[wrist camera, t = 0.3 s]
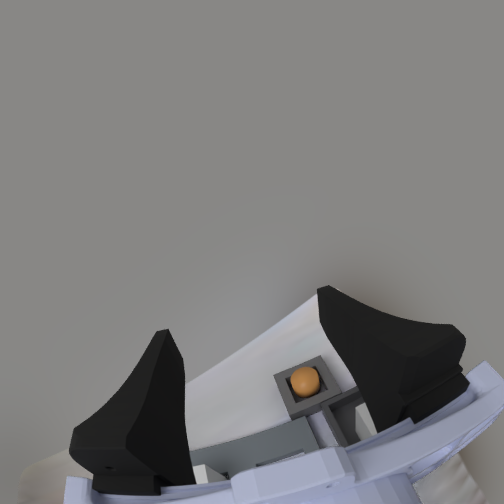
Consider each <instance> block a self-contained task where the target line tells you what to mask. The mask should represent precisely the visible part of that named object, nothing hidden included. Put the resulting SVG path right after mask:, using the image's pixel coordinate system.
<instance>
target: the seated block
mask: <svg viewBox="0 0 504 504" xmlns="http://www.w3.org/2000/svg"><path fill="white" fill-rule="evenodd" d="M193 471H194V475H195V479H196V483H197V484H204V483H212V482H219V481H226V480H229V479H228V478H226V477H224V476H223V475H221V474H219V473H218V472H216V471H214V470H213V469H211V468H210V467H208V466H207V465H205V464H203V465H198V466H193Z"/></svg>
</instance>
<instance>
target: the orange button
mask: <svg viewBox="0 0 504 504" xmlns="http://www.w3.org/2000/svg"><path fill="white" fill-rule="evenodd" d="M291 384H292V387H293V389H294V392H295V394H296V395H297V396H299V397H301V398H310V397H312V396H314V395H316V394H317V393H318V391H319V389H320V382H319V377H318V373H317V372H316V370H315V369H313V368H311V367H302V368H299V369H297V370H296V371H295V372H294V373H293V374H292V376H291Z"/></svg>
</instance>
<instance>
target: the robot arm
mask: <svg viewBox="0 0 504 504" xmlns="http://www.w3.org/2000/svg"><path fill="white" fill-rule="evenodd" d="M317 295H318V306H319V318H320V323H321V325H322V327H323V330H324V332H325V334H326V336H327V338H328V339H329V341H330V342H331V344H332V346H333V347H334V349H335V350H336V352H337V353H338V355H339V356H340V358H341V359H342V361H343V362H344V364H345V365H346V367H347V368H348V370H349V371H350V373H351V375H352V377H353V379H354V381H355V383H356V385H357V387H358V389H359V391H360V393H361V395H362V397H363V400H364V402H365V404H366V406H367V409H368V411H369V413H370V416H371V418H372V421H373V423H374V426H375V428H376V431H377V434H376V435H374V436H371V437H369V438H367V439H365V440H362V441H360V442H358V443H355V444H353V445H350V446H348V447H346V448H344V447H336V446H331V447H327V448H323V449H319V450H316V451H313V452H310V453H307V454H304V455H300V456H297V457H294V458H290V459H287V460H283V461H279V462H276V463H272V464H268V465H264V466H259V467H255V468H251V469H248V470H245V471H241V472H239V473H238V474H236V475H234V476H233V477H232V478H231V480H226V481H219V482H212V483H204V484H197V483H196V479H195V475H194V471H193V467H192V462H191V457H190V452H189V446H188V440H187V433H186V426H185V371H184V363H183V358H182V356H181V354H180V352H179V350H178V348H177V346H176V344H175V342H174V340H173V338H172V335H171V334H170V331H169V329H166V330H161V331H157V332H156V333H155V335H154V337H153V338H152V340H151V342H150V344H149V345H148V347H147V349H146V350H145V352H144V354H143V356H142V357H141V359H140V361H139V362H138V364H137V366H136V367H135V368H134V370H133V371H132V373H131V374H130V376H129V377H128V379H127V380H126V381H125V383H124V384H123V385H122V386H121V387H120V389H119V390H118V391H117V392H116V393H115V394H114V395H113V397H112V398H110V400H109V401H108V402H107V403H106V404H105V405H104V406H103V407H102V408H100V409H99V410H98V411H97V412H96V413H94V414H93V415H92V416H91V417H90V418H88V419H87V420H85V421H84V422H82V423H81V424H80V425H78V426H77V427H75V428H74V430H73V434H72V439H71V444H70V448H69V454H70V455H71V457H72V458H73V459H74V460H75V461H76V462H77V463H78V464H80V465H81V466H82V467H84V468H85V469H87V470H88V471H89V472H91V473H92V474H94V475H93V480H91V479H88V478H84V477H75V476H67V481H66V488H65V495H64V504H422V503H421V501H420V499H419V497H418V495H417V493H416V492H415V490H414V488H413V486H412V484H413V483H415V482H416V481H418V480H419V479H421V478H423V477H424V476H426V475H427V474H429V473H430V472H432V471H433V470H435V469H436V468H437V467H439V466H440V465H442V464H443V463H444V462H446V461H447V460H448V459H450V458H451V457H452V456H454V455H455V454H456V453H458V452H459V451H460V450H461V449H463V448H464V447H465V446H466V445H468V444H469V443H470V442H471V441H472V440H474V439H475V438H476V437H477V436H479V435H480V434H481V433H482V432H483V431H484V430H486V429H487V428H488V427H489V426H490V425H491V424H492V423H493V422H494V421H495V420H496V419H497V417H498V416H499V415H500V413H501V412H502V411H503V409H504V380H503V378H502V377H501V376H500V375H499V374H498V373H497V372H496V371H495V370H494V369H493V368H492V366H491V365H490V364H488V362H487V361H486V360H484V361H482V362H481V363H480V364H479V365H477V366H476V367H475V368H473V369H472V370H471V371H469V372H468V373H467V375H466V376H464V375H463V374H462V373H461V372H462V370H463V368H462V367H461V366H460V365H459V361H460V359H461V357H462V353H463V351H464V348H465V345H466V338H465V336H464V335H463V334H462V333H461V332H460V331H459V330H458V329H457V328H455V327H454V326H453V325H450V324H432V323H424V322H417V321H412V320H407V319H403V318H400V317H396V316H393V315H390V314H387V313H384V312H381V311H379V310H376V309H374V308H372V307H369V306H367V305H365V304H363V303H360V302H359V301H357V300H355V299H353V298H351V297H349V296H347V295H346V294H344V293H342V292H340V291H338V290H337V289H335V288H333V287H331V286H329V285H328V286H325V287H321V288H318V289H317Z"/></svg>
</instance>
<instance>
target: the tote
mask: <svg viewBox="0 0 504 504" xmlns="http://www.w3.org/2000/svg"><path fill="white" fill-rule="evenodd" d="M363 403H365V402H364V400H363V397H362V395H361V393H360V391H359V389H358V387H357V386H356V387H354V388H352V389H350V390H348V391H346V392H344V393H342V394H340V395H338V396H336V397H333V398H331V399H329V400H327V401H325V402H322V403H320V404H321V408H322V412H323V415H324V417H325V419H326V421H327V423H328V425H329V427H330V429H331V431H332V433H333V435H334V437H335V439H336V441H337V443H338V445H339V447H344V448H346V447H348V446H350V445H353V444H355V443H358V442H360V441H361V440H360V438H359V437H358V435H357V433H356V407H357V406H359V405H361V404H363Z"/></svg>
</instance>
